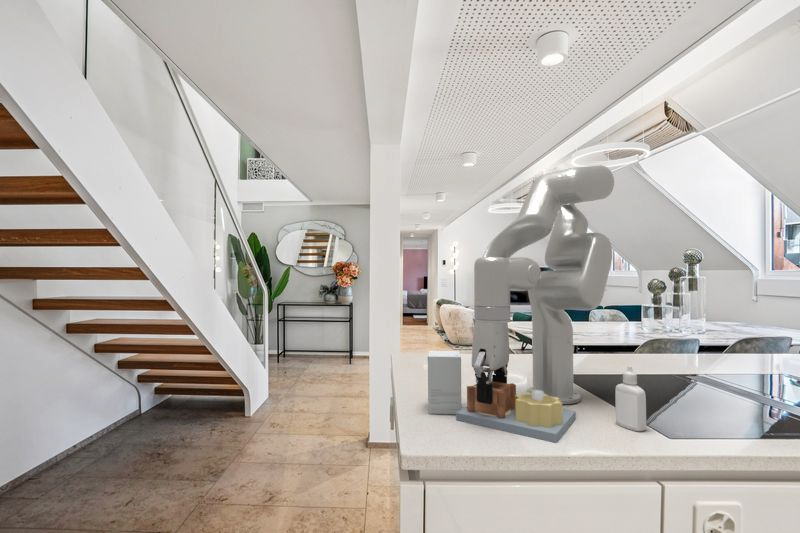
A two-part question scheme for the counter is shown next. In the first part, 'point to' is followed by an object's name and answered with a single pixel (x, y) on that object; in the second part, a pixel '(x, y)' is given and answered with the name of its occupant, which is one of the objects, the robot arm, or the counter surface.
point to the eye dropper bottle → (630, 403)
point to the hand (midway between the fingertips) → (492, 397)
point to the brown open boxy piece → (501, 399)
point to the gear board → (519, 425)
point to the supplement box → (444, 382)
